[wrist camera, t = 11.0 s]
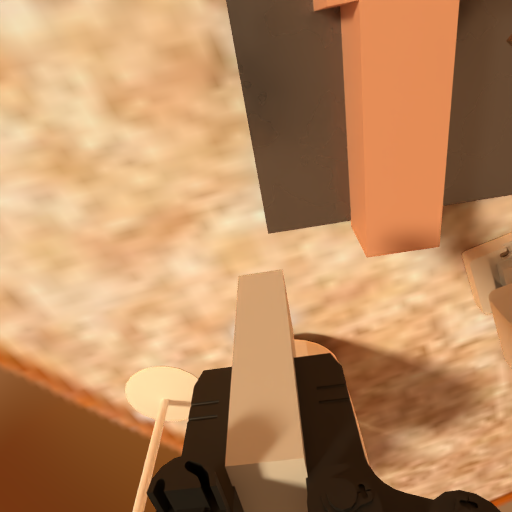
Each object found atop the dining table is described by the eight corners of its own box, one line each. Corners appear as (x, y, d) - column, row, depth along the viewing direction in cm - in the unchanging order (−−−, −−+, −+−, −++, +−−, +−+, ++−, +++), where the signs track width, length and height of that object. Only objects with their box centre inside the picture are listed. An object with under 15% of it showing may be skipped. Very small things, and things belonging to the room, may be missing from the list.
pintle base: (198, -157, 17) (163, -277, 10) (603, -260, 15) (859, -475, 9) (267, 225, 26) (272, 288, 20) (521, 184, 25) (614, 238, 18)
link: (298, -177, 16) (311, -237, 12) (464, -218, 15) (526, -293, 12) (331, 229, 25) (343, 260, 22) (434, 213, 24) (463, 243, 21)
